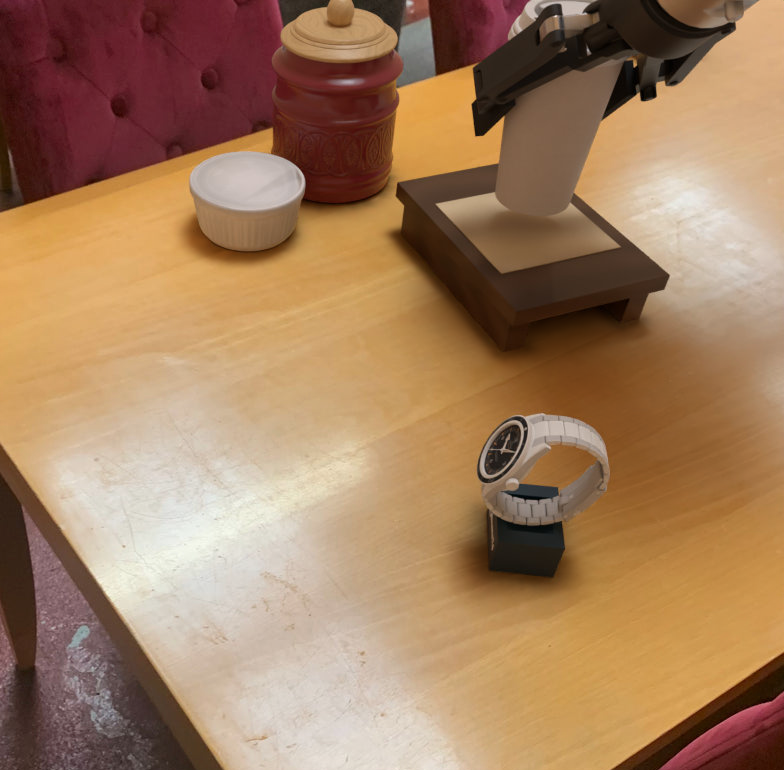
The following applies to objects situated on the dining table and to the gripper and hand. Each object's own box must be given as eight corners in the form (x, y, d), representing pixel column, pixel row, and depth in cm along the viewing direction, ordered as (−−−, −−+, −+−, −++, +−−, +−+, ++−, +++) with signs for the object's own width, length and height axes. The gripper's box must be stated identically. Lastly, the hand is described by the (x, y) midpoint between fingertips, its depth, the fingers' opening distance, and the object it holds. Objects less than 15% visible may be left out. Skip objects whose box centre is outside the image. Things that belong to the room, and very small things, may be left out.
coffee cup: (466, 172, 81) (499, -9, 70) (567, 168, 82) (616, -12, 71) (493, 228, 75) (534, 39, 64) (603, 223, 76) (663, 35, 64)
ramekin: (297, 263, 85) (299, 213, 81) (182, 254, 86) (178, 204, 82) (308, 203, 92) (310, 154, 88) (202, 195, 93) (199, 146, 89)
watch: (459, 507, 64) (488, 391, 56) (572, 519, 64) (618, 403, 56) (459, 568, 61) (490, 454, 52) (580, 581, 60) (630, 467, 52)
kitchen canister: (394, 207, 92) (416, 24, 79) (269, 205, 92) (270, 21, 79) (386, 147, 101) (405, -27, 87) (272, 145, 101) (273, -30, 87)
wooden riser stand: (651, 323, 79) (670, 274, 75) (504, 360, 76) (516, 310, 72) (521, 202, 93) (532, 155, 89) (391, 228, 89) (397, 181, 85)
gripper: (532, 46, 53) (415, 171, 75) (864, 22, 56) (657, 148, 78) (517, -85, 52) (404, 79, 74) (853, -103, 55) (648, 60, 77)
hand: (533, 115), depth 76 cm, fingers closed on coffee cup, 9 cm apart
